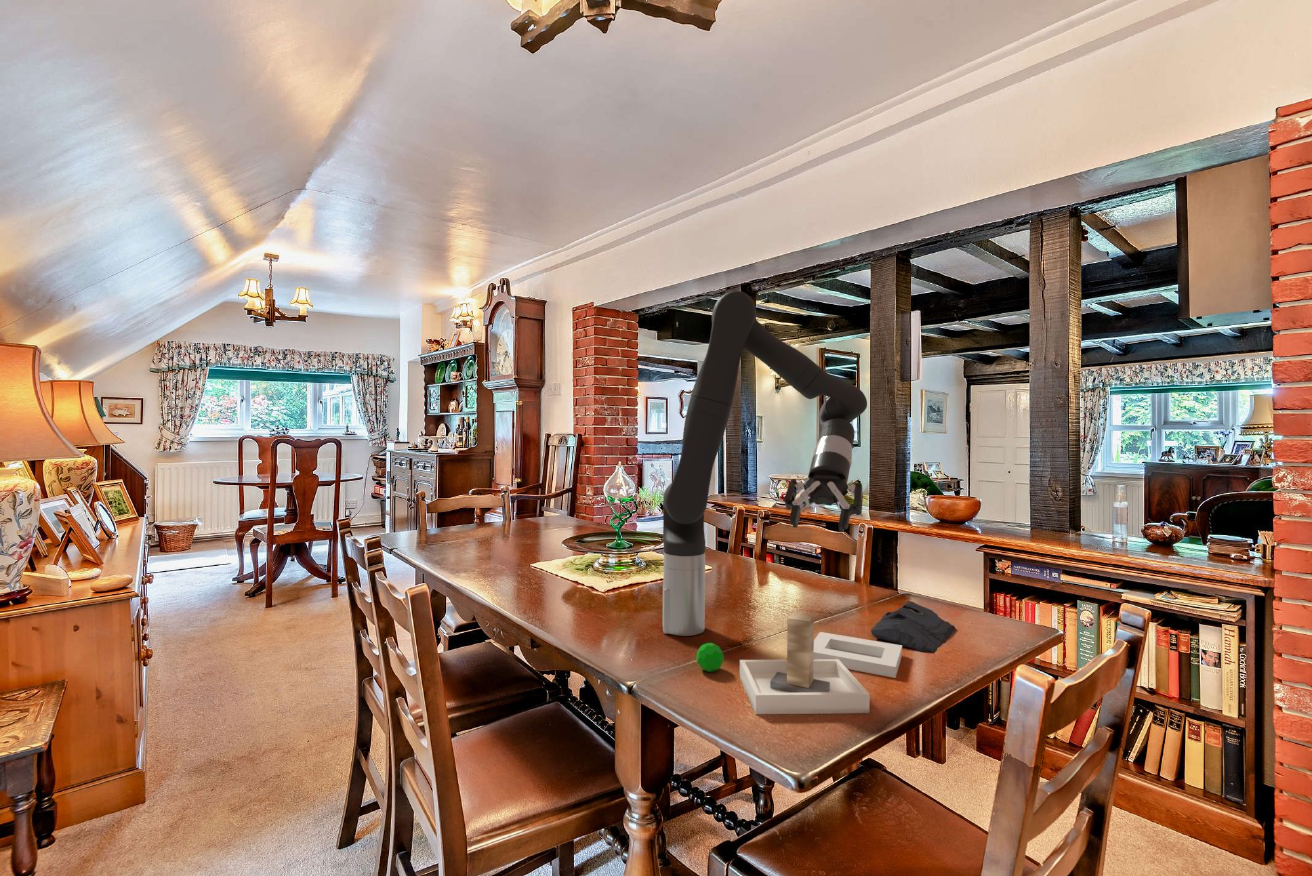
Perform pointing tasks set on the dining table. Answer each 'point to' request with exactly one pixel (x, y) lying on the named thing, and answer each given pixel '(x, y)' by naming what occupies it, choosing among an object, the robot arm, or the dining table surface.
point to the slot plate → (859, 653)
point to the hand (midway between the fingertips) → (817, 527)
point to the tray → (839, 699)
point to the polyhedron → (710, 657)
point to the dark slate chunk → (913, 628)
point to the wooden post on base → (799, 658)
